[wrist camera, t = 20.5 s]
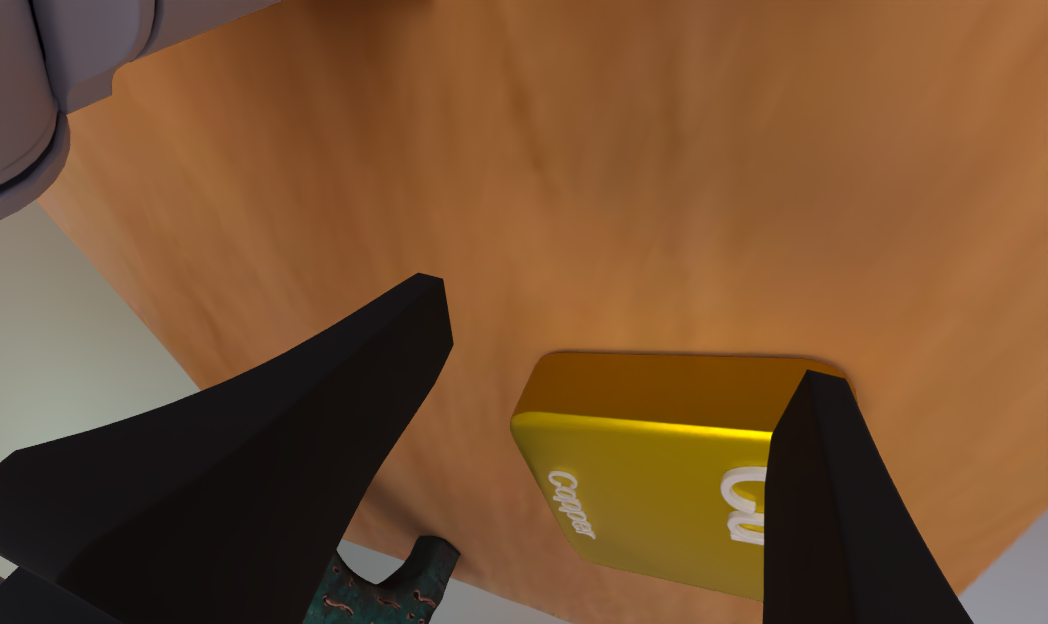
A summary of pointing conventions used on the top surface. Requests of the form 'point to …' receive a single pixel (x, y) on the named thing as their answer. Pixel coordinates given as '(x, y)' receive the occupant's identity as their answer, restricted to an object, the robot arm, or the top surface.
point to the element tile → (659, 459)
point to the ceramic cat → (386, 589)
